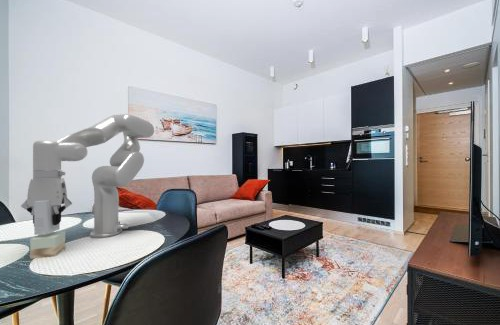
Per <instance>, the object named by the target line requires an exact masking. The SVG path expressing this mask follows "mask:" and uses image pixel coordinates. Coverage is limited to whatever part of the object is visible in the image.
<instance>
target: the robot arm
mask: <svg viewBox="0 0 500 325" xmlns="http://www.w3.org/2000/svg"><path fill="white" fill-rule="evenodd" d="M121 133H122V135H123V143H122V144H121V145H120V146H119V147H118V149H117V150H116V151H115V152H114V153H113V154H112V155H111V157H110V159H109V165H102V166H99V167H97V168H95V169H94V170H93V172H92V173H91V180H92V181H91V182H92V187H93V191H94V194H93V195H94V196H93V197H94V199H93V200H94V204H93V205H94V206H93V207H94V209H93V211H94V212H93V216H94V218H93V226H94V228H93V230H92V231H90V233H89V237H91V238H106V237H112V236H115V235H118V234H120V233H122V232H123V230H124V229H129V224H128V223H121V220H120V221H119V210H120V209H119V202H120V201H119V199H120V198H119V197H120V196H119V191H118V188H123V187H126V186H128V185H129V184H130V183H131V182H132V181H133V180H134V178H135V177H137V175H138V174H139V172H140V171H141V169H142V168H143V166H144V161H145V157H144V154H143V153H142V152H140V150H141V145H140V142H139V139H143V138H144V139H146V138H152V136H154V134H155V128H154V126H153V124H152V123H151V122H150V121H148V120H146V119H143V118H141V117H138V116H136V115H133V114H128V113H125V114H122V113H121V114H112V115H110V116H108V117H106V118H105V119H103V120H101V121H98V123H95V124H94V125H91V126H88V127H86V128H83V129H82V130H79V131H77V132H73V133H71V134H69V135H66V136H64V137H62V138H60V139H58V140H57V141H53V140H36V141H34V143H33V144H32V179H30V181H29V184H28V189H27V195H26V196H27V198H26V199H25V201H24V202H23V203H22V204H21V205H20V207H21V208H22V209H24V210H26V211H27V212H28V213H30V215H31V216H32V223H33V225H34V201H45V200H49V204H50V206H53V209H54V212H55V214H54V215H53V225H57V224H59V223H61V221H62V213H63V212H64V210H66V209H67V208H68V207H70V206H72V204H73V202H72V201H71V200H70V199H69V198H68V193H67V185H66V181H65V178H63V176H66V171H63V170H62V162H80V161H82V160H84V159H85V158H86V157H87V156H88V149H87V148H89V147H94V146H98V145H102V144H105V143H107V142H108V141H110V140H111V139H113V138H114V137H116V136H118V135H120V134H121Z"/></svg>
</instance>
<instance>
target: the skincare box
mask: <svg viewBox="0 0 500 325" xmlns="http://www.w3.org/2000/svg"><path fill="white" fill-rule="evenodd" d="M54 214H55V212H54V209H53V206H50V204H49V200H45V201H34V224H33V227H34V229H33V230H34V231H33V232H34V236H38V235H46V234H49V233H51V232H57V231H58V230H60V226H61V225H60V223H61V222H60V223H59V224H57V225H53V215H54Z"/></svg>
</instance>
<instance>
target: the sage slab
mask: <svg viewBox="0 0 500 325" xmlns="http://www.w3.org/2000/svg"><path fill="white" fill-rule="evenodd" d="M66 235H67V234H66V230H65V231H54V232H51V233H49V234H46V235H35V236H34V237H31V238H30V247H29V248H30V249H40V248H51V247H56V246H58V245H59V244H61V243H62V242H64V241H65V242H66ZM30 249H29V250H30Z"/></svg>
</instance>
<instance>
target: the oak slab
mask: <svg viewBox="0 0 500 325" xmlns="http://www.w3.org/2000/svg"><path fill="white" fill-rule="evenodd" d="M65 249H66V240H65V241H64V242H62V243H61V244H59V245H58V246H56V247H51V248H40V249H29V259H30V260H32V259H41V258H53V257H56V256H58V255H59V254H60V253H62V252H63V251H64V250H65Z"/></svg>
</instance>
